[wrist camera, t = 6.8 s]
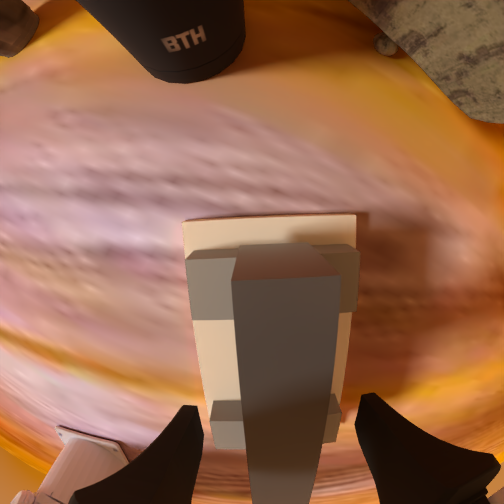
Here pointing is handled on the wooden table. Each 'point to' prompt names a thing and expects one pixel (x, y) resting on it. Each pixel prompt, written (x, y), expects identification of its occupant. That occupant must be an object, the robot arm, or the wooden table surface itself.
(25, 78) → the wooden table surface
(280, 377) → the handle bar
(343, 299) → the stand
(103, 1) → the wine bottle
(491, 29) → the tabletop clock
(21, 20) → the beverage cup
